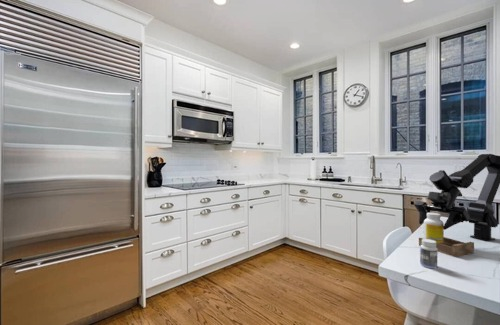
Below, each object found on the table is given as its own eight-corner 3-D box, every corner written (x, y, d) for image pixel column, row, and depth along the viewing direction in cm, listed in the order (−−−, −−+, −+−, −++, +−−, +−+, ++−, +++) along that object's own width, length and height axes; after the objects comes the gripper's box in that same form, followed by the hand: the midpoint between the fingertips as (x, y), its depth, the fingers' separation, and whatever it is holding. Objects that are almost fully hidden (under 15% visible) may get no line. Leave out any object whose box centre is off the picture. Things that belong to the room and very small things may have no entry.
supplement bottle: (447, 248, 101) (447, 215, 101) (428, 246, 103) (428, 215, 103) (438, 242, 108) (438, 212, 108) (420, 241, 109) (420, 211, 109)
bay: (435, 241, 110) (435, 232, 110) (473, 253, 96) (474, 242, 96) (417, 244, 106) (417, 235, 106) (454, 256, 93) (454, 245, 93)
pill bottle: (416, 263, 87) (416, 238, 87) (429, 262, 88) (429, 238, 88) (427, 269, 83) (427, 243, 82) (441, 268, 83) (441, 242, 83)
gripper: (416, 182, 115) (400, 209, 110) (466, 187, 98) (449, 218, 94) (427, 199, 118) (412, 225, 114) (476, 205, 102) (461, 237, 97)
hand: (431, 226), depth 105 cm, fingers open, 9 cm apart
